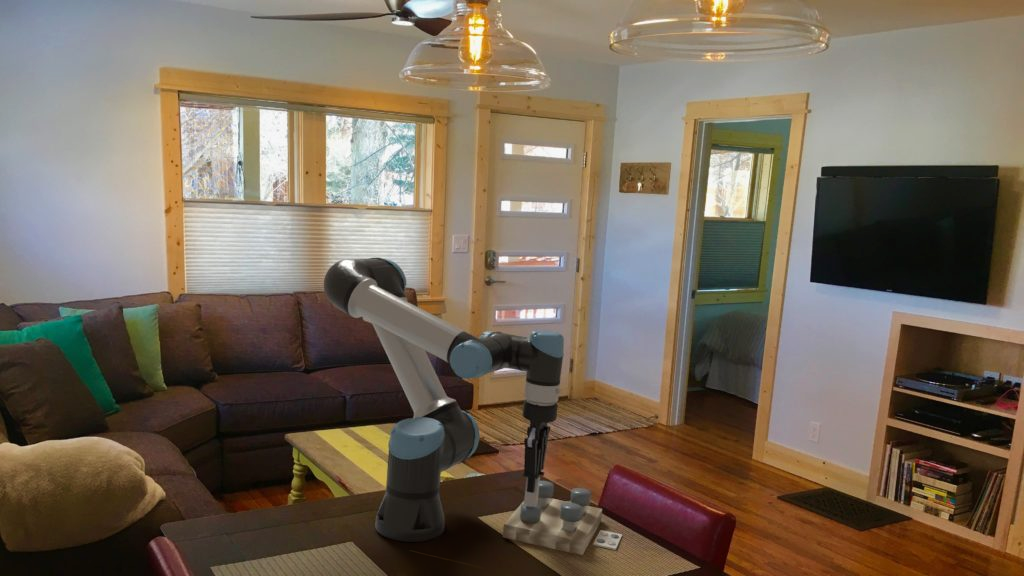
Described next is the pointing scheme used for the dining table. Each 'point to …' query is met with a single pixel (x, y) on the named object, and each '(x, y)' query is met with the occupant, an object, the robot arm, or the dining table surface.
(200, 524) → the dining table surface
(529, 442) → the robot arm
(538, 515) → the button
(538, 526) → the board
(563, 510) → the button
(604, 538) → the tile
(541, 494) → the button
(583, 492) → the button
